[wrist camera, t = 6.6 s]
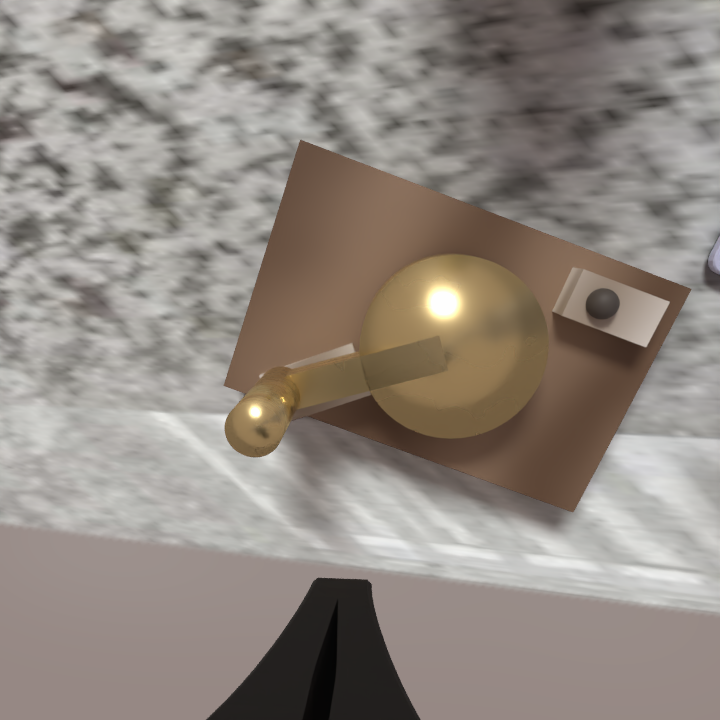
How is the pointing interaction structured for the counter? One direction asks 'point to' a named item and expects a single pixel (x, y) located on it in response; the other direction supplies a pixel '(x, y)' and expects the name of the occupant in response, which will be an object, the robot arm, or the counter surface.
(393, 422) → the stand
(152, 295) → the counter surface
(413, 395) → the gold door handle
